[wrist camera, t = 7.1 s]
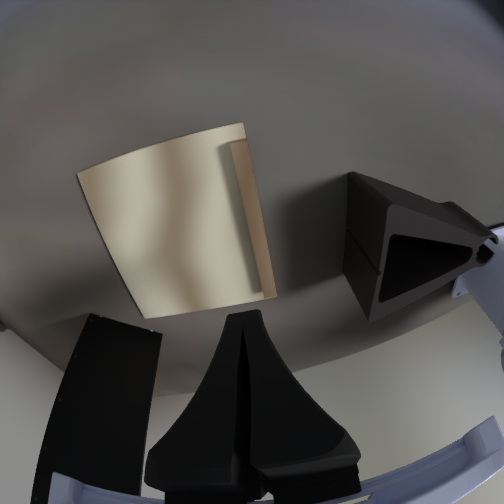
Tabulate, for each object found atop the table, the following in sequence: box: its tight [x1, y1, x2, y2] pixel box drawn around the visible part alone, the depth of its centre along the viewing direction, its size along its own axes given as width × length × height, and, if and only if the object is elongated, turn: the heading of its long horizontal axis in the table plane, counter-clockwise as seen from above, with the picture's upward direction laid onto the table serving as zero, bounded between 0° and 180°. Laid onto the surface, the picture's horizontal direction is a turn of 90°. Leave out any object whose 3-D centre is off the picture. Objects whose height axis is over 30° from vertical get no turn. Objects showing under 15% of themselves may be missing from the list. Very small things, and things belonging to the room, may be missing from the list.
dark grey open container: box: [343, 172, 499, 323], centre depth 18 cm, size 9×6×12 cm
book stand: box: [77, 122, 277, 319], centre depth 20 cm, size 12×14×2 cm
